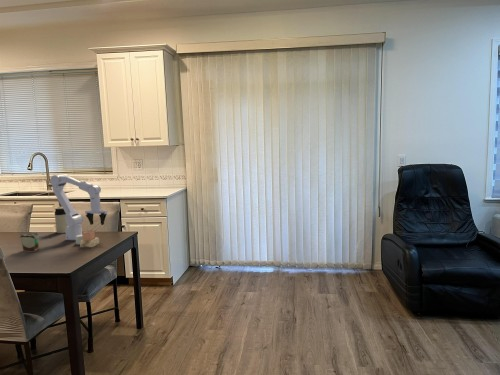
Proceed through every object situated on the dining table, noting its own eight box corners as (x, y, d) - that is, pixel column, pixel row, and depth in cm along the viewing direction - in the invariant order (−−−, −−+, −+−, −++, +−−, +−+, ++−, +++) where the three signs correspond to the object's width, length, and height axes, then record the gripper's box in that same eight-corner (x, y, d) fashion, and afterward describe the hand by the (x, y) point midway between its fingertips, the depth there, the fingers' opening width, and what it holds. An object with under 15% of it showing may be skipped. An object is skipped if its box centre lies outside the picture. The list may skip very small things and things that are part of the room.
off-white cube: (76, 244, 229) (75, 236, 228) (79, 242, 234) (78, 234, 233) (84, 244, 229) (83, 236, 229) (87, 241, 234) (86, 234, 234)
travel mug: (56, 234, 256) (54, 208, 254) (56, 231, 263) (54, 207, 261) (69, 232, 260) (66, 207, 257) (68, 230, 267) (66, 205, 264)
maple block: (80, 247, 223) (79, 241, 222) (86, 243, 231) (86, 237, 230) (93, 247, 222) (92, 241, 222) (99, 243, 230) (98, 237, 230)
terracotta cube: (82, 240, 224) (82, 232, 223) (87, 238, 229) (86, 230, 228) (90, 240, 223) (89, 232, 222) (95, 238, 228) (94, 230, 227)
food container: (45, 249, 221) (44, 233, 219) (37, 252, 215) (35, 235, 213) (30, 247, 225) (28, 231, 223) (21, 250, 219) (19, 234, 217)
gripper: (81, 205, 234) (83, 225, 235) (102, 205, 231) (103, 226, 233) (88, 203, 240) (89, 223, 242) (108, 203, 238) (110, 223, 240)
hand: (97, 224), depth 238 cm, fingers open, 7 cm apart
